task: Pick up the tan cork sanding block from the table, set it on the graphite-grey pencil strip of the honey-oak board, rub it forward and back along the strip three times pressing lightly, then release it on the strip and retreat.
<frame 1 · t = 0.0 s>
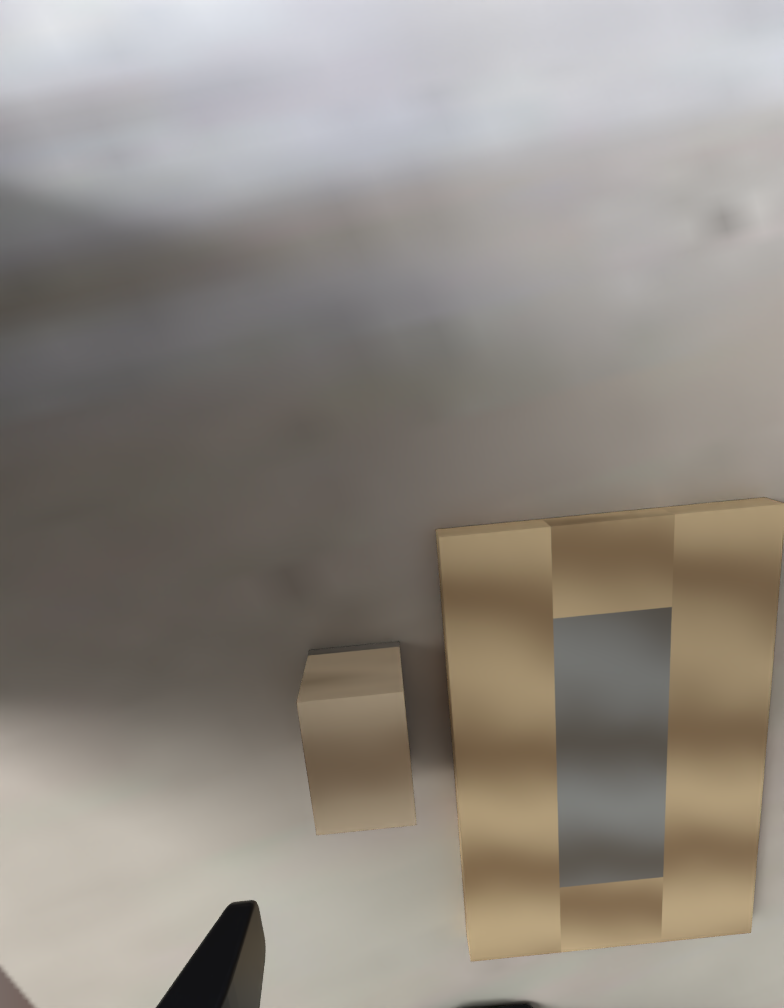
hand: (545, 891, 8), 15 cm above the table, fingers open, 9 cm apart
board: (600, 738, 25), on the table
sanding block: (361, 703, 24), on the table
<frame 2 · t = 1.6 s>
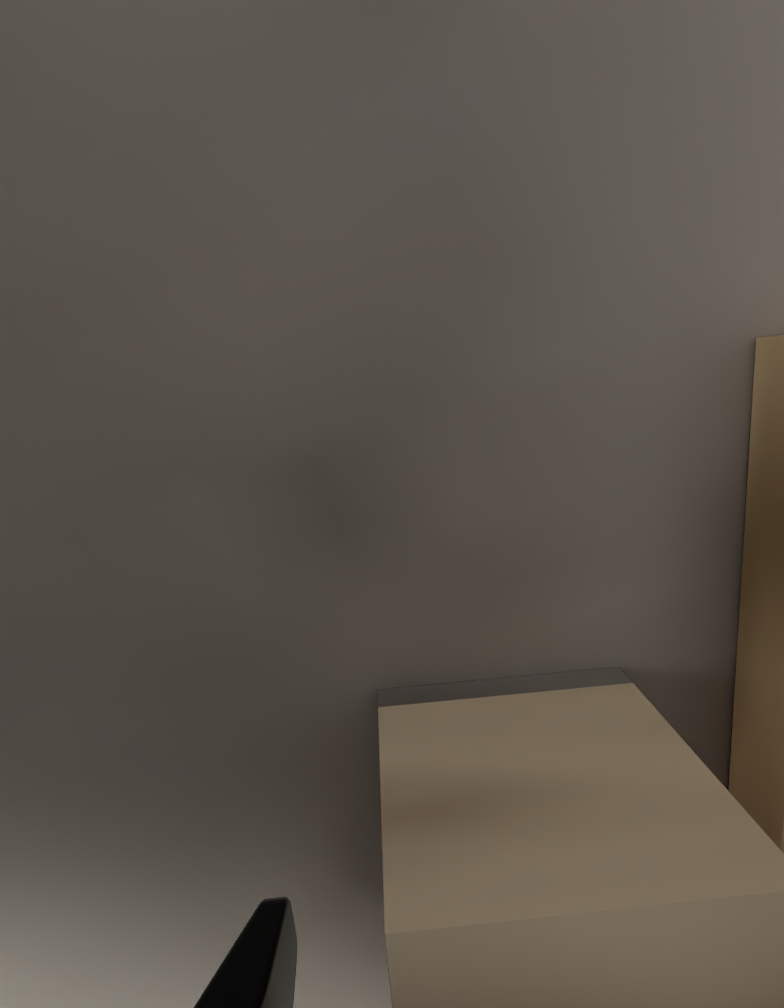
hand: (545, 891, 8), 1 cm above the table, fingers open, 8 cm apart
sanding block: (502, 823, 9), on the table
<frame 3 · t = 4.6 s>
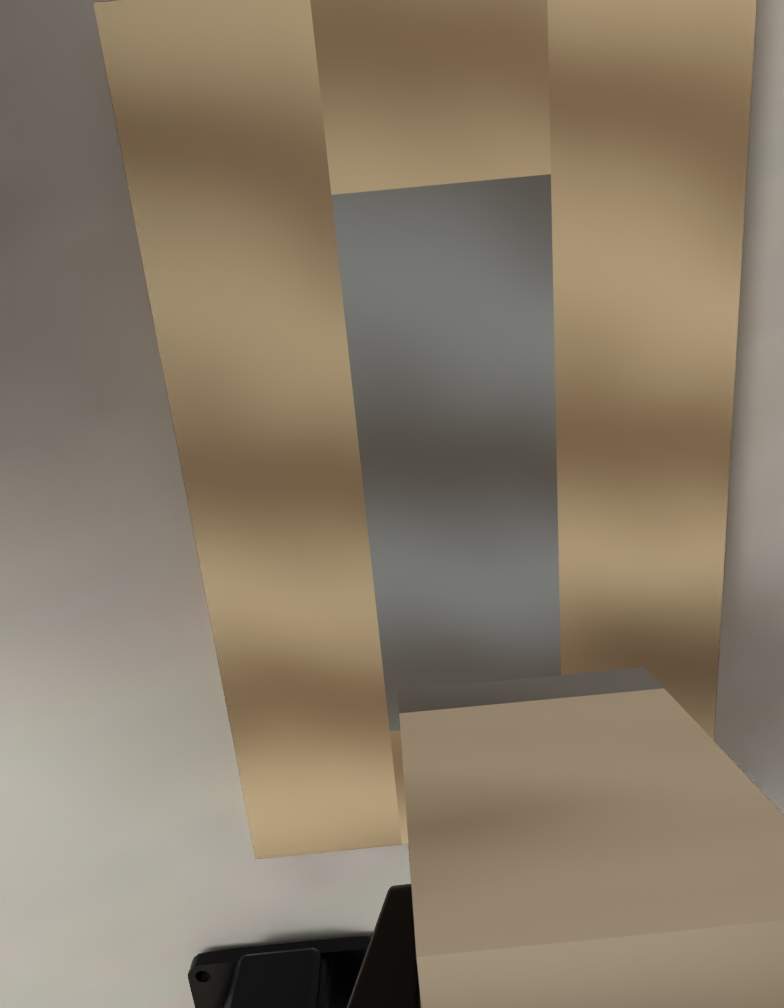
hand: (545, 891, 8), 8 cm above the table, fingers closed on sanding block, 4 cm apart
board: (453, 477, 15), on the table
sanding block: (526, 832, 9), point 7 cm above the table, touching gripper
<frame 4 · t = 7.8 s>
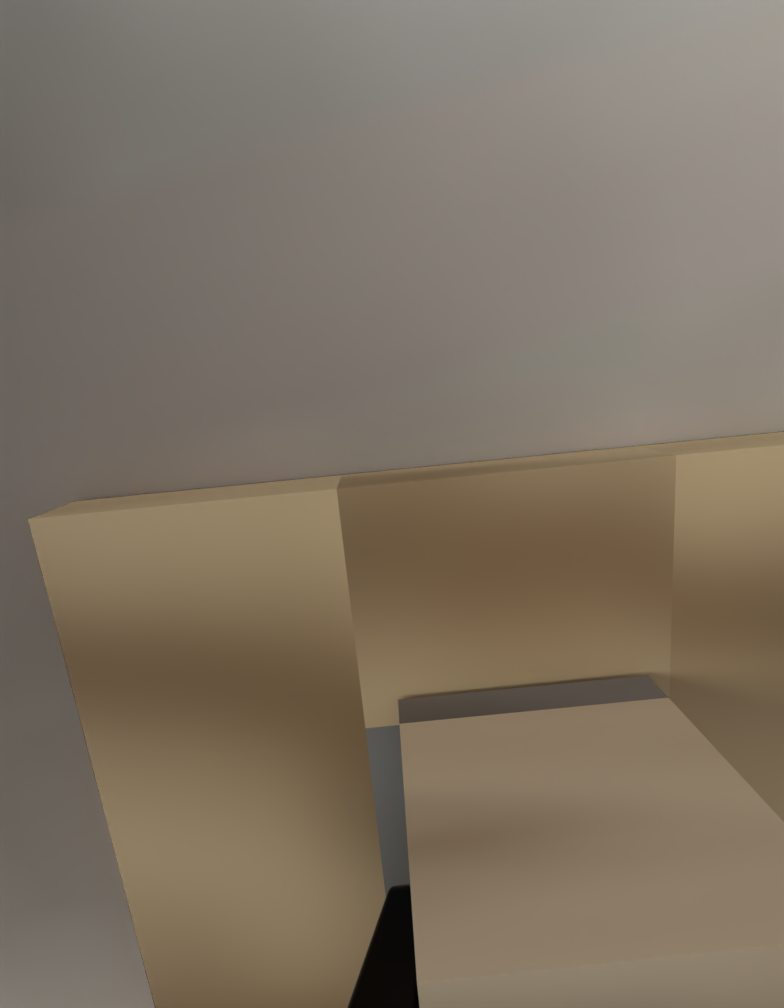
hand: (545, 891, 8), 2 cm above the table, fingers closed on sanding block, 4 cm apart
board: (515, 963, 11), on the table
sanding block: (528, 842, 9), point 1 cm above the table, touching gripper
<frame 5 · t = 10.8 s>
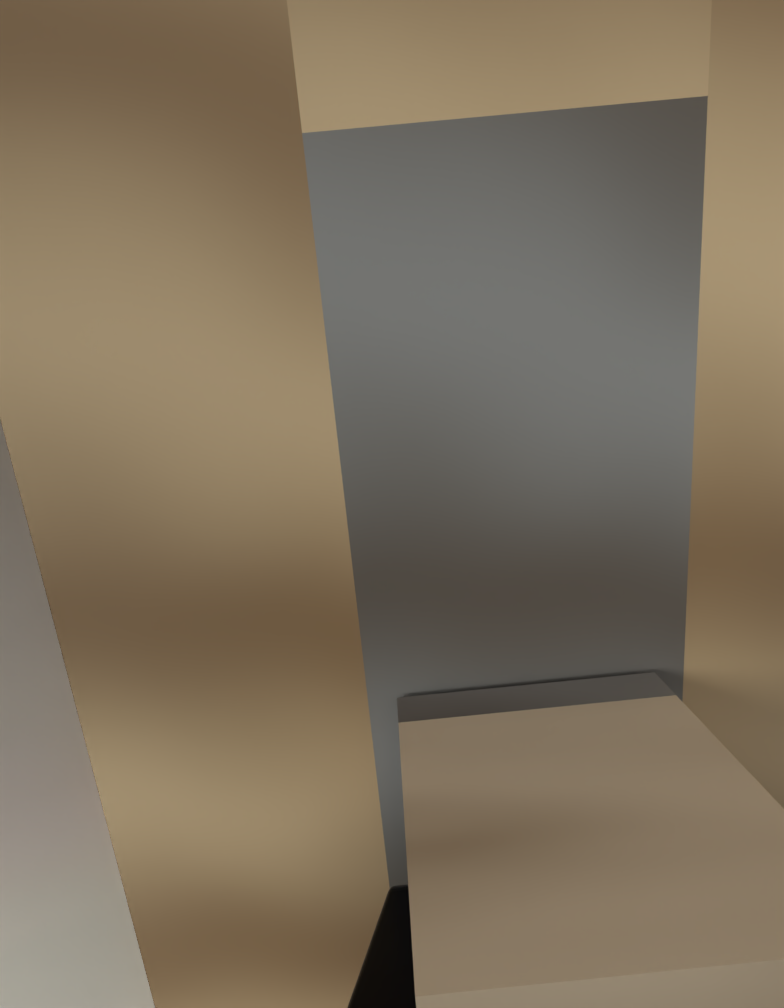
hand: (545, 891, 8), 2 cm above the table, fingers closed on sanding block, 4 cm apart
board: (505, 602, 9), on the table
sanding block: (531, 843, 9), point 1 cm above the table, touching gripper
when the fingers open (2 cm above the table, at t = 13.4 s): sanding block stays where it is, resting on board.
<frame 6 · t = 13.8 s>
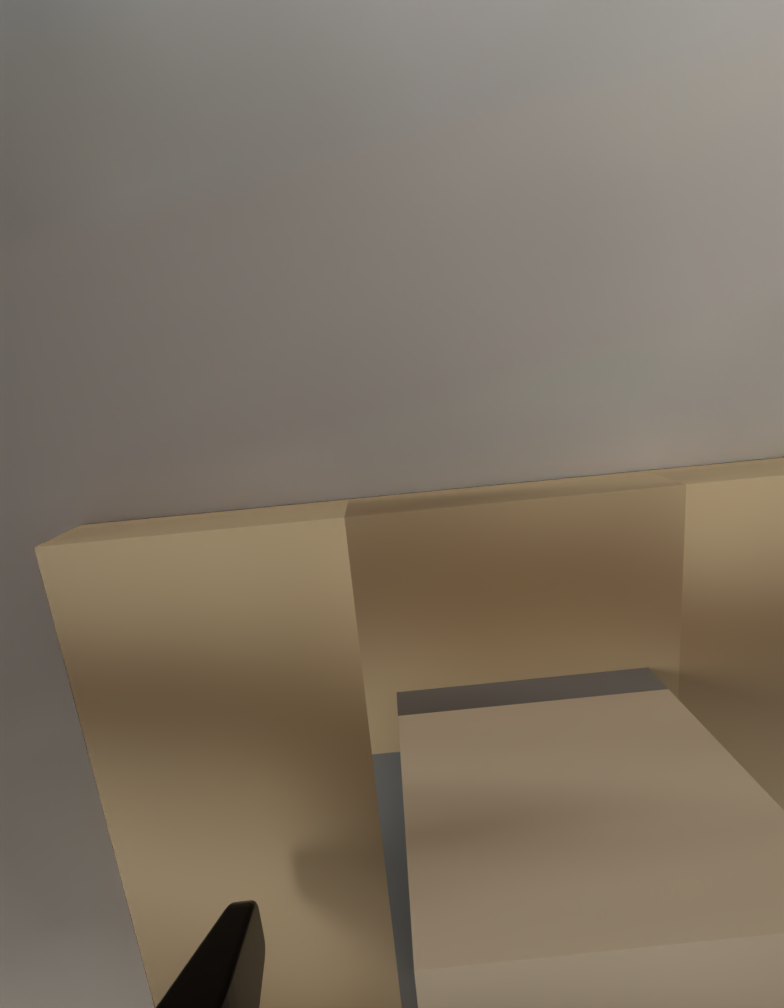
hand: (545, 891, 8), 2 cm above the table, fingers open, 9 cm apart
board: (520, 982, 11), on the table
sanding block: (528, 835, 9), point 1 cm above the table, touching board
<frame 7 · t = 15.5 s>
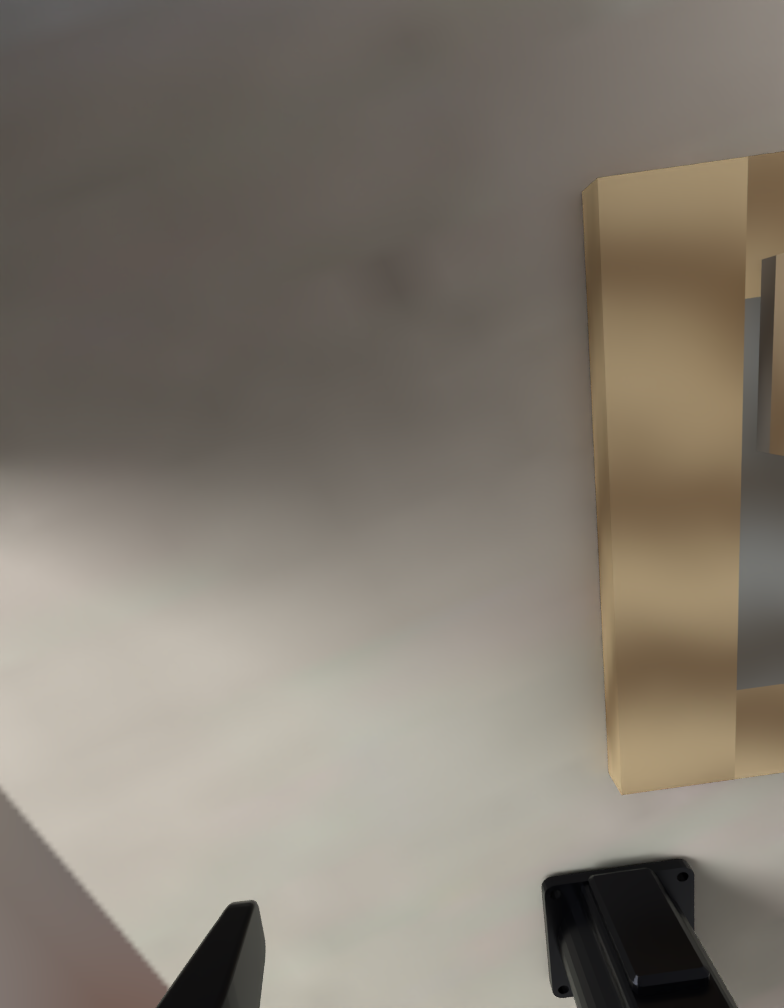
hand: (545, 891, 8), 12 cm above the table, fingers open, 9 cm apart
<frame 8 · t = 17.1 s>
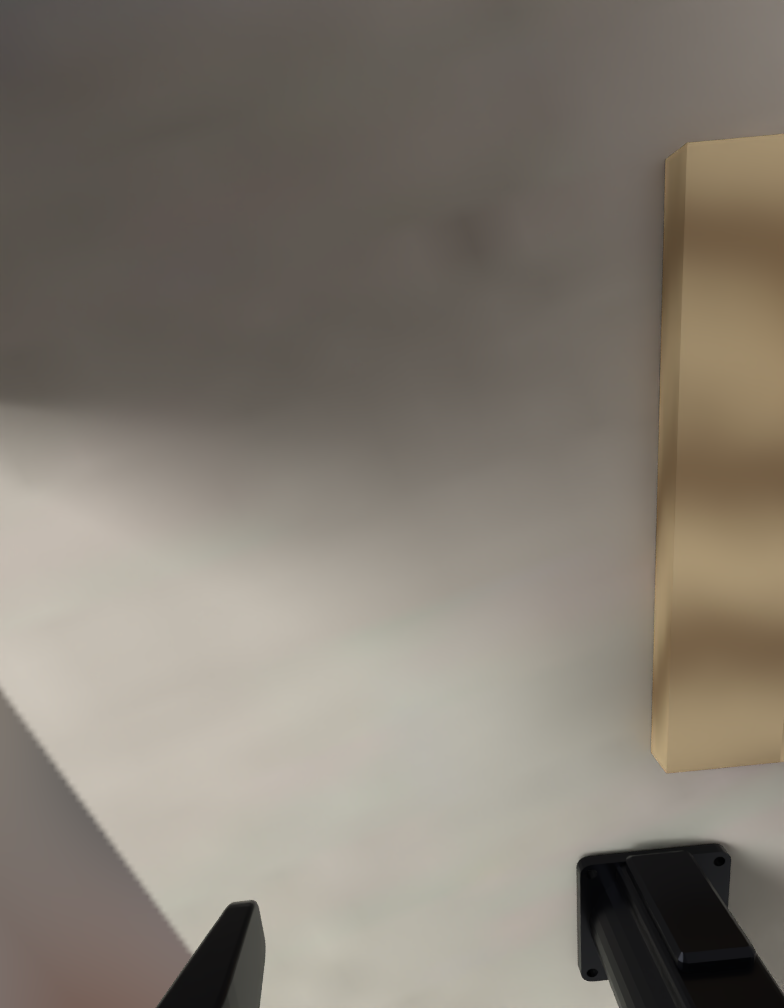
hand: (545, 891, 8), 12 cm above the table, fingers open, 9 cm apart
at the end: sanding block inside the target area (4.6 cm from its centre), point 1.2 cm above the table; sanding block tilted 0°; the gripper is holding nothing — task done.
